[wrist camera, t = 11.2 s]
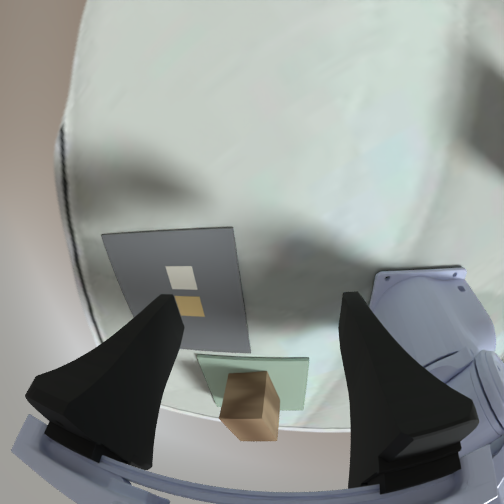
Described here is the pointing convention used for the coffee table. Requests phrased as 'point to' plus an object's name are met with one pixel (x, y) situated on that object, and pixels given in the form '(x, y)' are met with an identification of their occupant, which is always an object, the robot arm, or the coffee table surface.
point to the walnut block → (251, 406)
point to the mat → (279, 369)
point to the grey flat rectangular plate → (186, 282)
